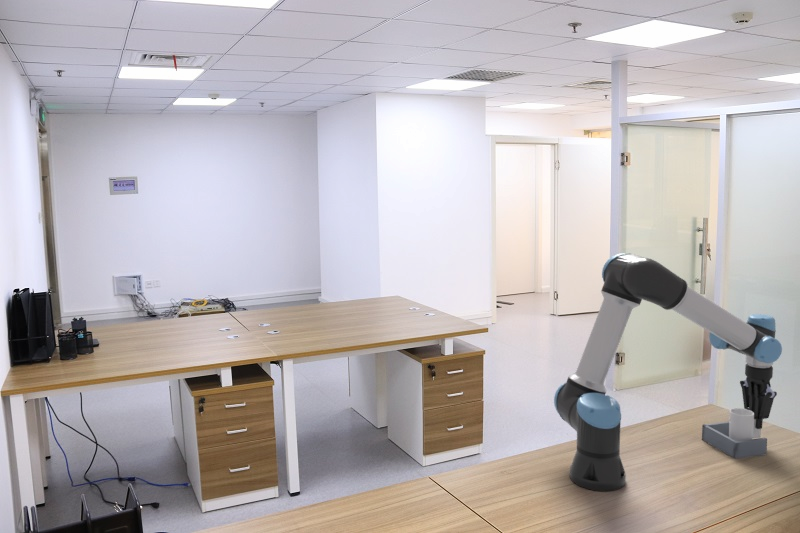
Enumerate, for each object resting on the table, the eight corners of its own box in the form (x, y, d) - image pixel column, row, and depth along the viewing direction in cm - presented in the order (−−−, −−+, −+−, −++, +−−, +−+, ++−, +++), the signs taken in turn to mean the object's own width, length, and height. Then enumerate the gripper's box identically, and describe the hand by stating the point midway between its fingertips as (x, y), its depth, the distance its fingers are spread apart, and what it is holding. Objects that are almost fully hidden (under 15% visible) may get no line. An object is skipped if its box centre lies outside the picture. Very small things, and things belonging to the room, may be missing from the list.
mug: (756, 453, 202) (758, 416, 200) (732, 453, 202) (734, 415, 201) (742, 440, 212) (744, 404, 210) (720, 440, 212) (722, 404, 210)
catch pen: (735, 458, 198) (736, 442, 198) (701, 439, 213) (702, 424, 212) (766, 454, 201) (767, 438, 200) (731, 435, 215) (731, 420, 215)
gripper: (786, 369, 200) (781, 443, 203) (753, 357, 212) (749, 428, 215) (764, 371, 198) (760, 446, 201) (733, 359, 210) (730, 430, 214)
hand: (755, 436), depth 208 cm, fingers closed
